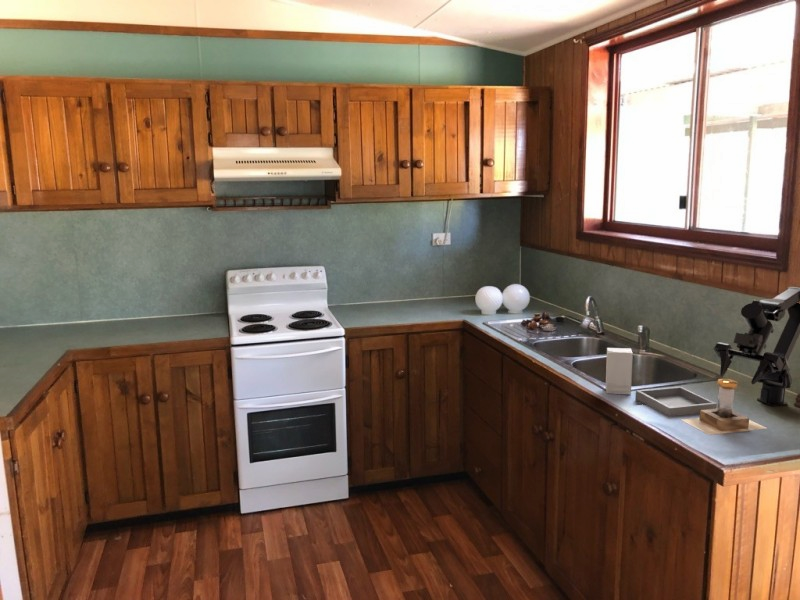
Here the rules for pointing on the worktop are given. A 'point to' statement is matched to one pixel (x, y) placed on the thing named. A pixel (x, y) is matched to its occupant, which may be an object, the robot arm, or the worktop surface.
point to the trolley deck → (714, 431)
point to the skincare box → (619, 370)
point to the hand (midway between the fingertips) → (736, 379)
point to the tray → (674, 400)
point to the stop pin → (726, 397)
